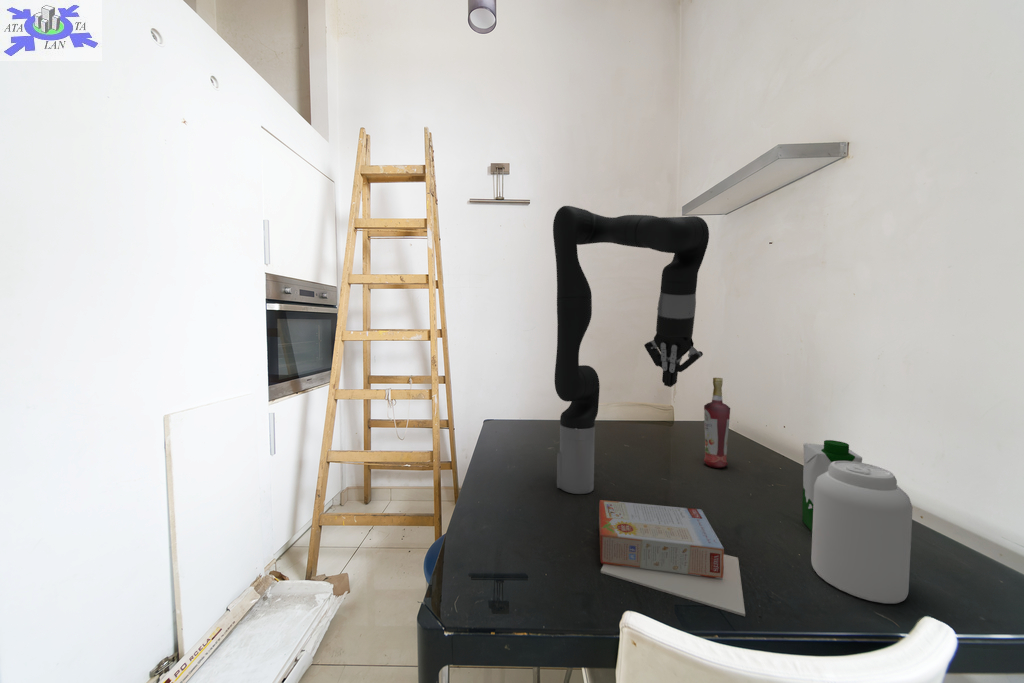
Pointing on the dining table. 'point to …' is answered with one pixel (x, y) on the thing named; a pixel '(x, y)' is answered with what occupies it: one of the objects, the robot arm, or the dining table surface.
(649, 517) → the cracker box
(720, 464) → the liquor
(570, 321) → the robot arm
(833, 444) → the milk carton
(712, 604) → the mat
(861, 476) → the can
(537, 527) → the dining table surface
